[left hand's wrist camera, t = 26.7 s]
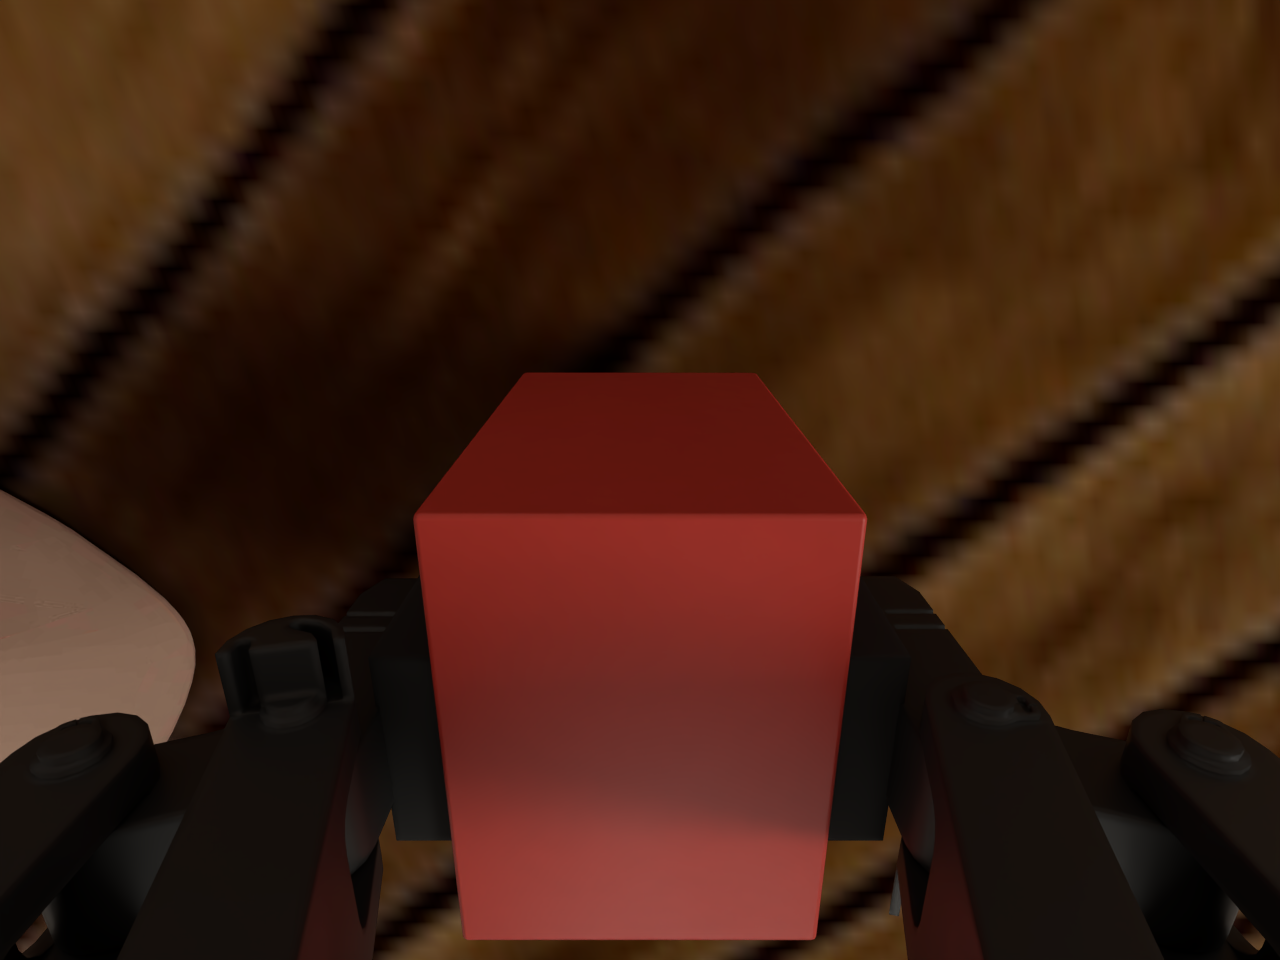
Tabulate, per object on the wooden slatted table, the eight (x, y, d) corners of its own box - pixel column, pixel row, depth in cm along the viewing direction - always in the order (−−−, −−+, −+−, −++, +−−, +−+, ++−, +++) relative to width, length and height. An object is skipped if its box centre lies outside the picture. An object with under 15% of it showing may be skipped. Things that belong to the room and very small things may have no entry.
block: (756, 372, 14) (869, 515, 7) (741, 635, 16) (817, 942, 9) (523, 372, 14) (410, 514, 7) (537, 635, 16) (462, 942, 9)
